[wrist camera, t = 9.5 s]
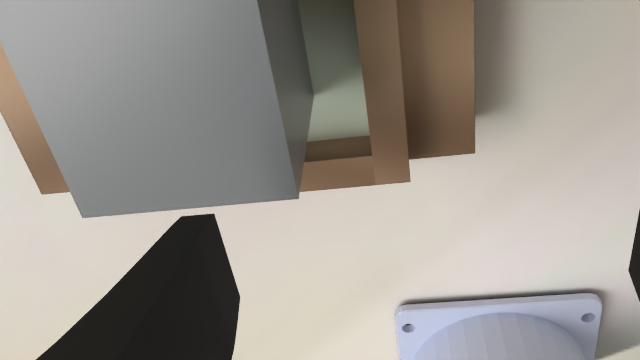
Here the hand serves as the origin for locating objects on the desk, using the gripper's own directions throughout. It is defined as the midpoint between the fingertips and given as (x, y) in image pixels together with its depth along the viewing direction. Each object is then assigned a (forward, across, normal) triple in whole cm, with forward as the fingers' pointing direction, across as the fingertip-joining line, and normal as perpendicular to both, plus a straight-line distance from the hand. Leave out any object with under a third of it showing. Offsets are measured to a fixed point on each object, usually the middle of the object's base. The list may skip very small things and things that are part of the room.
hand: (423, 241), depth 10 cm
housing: (+7, +5, -4) cm, 10 cm away
